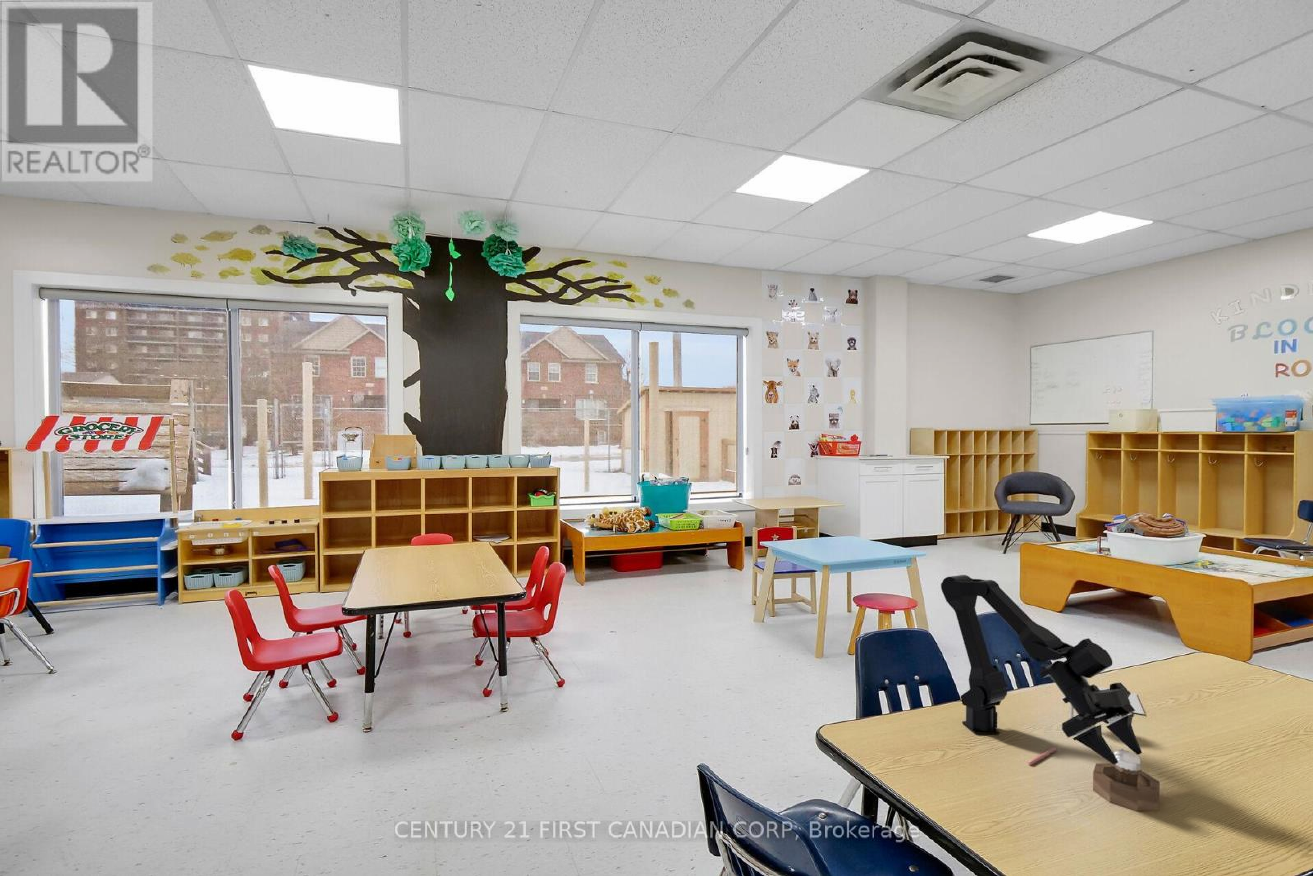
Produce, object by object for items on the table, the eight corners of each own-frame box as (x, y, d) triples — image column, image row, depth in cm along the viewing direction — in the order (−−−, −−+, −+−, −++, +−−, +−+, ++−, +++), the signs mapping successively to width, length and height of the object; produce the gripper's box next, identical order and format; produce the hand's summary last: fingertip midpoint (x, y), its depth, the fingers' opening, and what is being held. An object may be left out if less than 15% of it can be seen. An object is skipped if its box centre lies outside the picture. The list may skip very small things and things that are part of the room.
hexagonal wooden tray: (1122, 812, 128) (1122, 792, 128) (1081, 782, 139) (1082, 763, 139) (1173, 810, 129) (1173, 790, 129) (1128, 780, 140) (1128, 762, 140)
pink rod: (1030, 766, 146) (1031, 762, 146) (1027, 764, 146) (1027, 761, 146) (1056, 751, 153) (1056, 747, 153) (1053, 749, 154) (1053, 746, 154)
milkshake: (1104, 787, 137) (1106, 741, 137) (1133, 791, 136) (1135, 745, 136) (1113, 798, 133) (1114, 751, 133) (1143, 803, 131) (1144, 755, 131)
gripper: (1077, 678, 134) (1135, 754, 124) (1126, 664, 143) (1183, 734, 133) (1039, 700, 141) (1091, 774, 132) (1087, 686, 150) (1139, 754, 140)
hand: (1128, 758), depth 134 cm, fingers open, 9 cm apart
